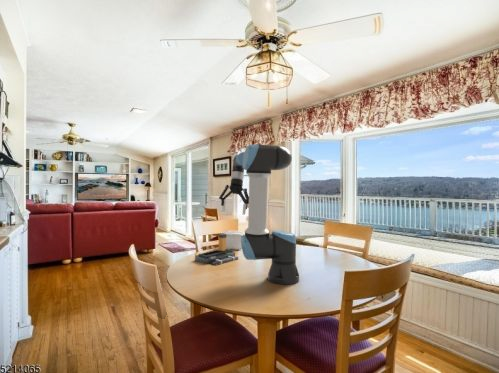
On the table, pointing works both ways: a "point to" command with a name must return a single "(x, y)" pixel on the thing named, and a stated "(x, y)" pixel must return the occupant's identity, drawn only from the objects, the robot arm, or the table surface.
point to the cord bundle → (224, 260)
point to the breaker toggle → (222, 243)
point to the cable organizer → (234, 239)
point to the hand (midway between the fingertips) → (233, 212)
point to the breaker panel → (213, 256)
